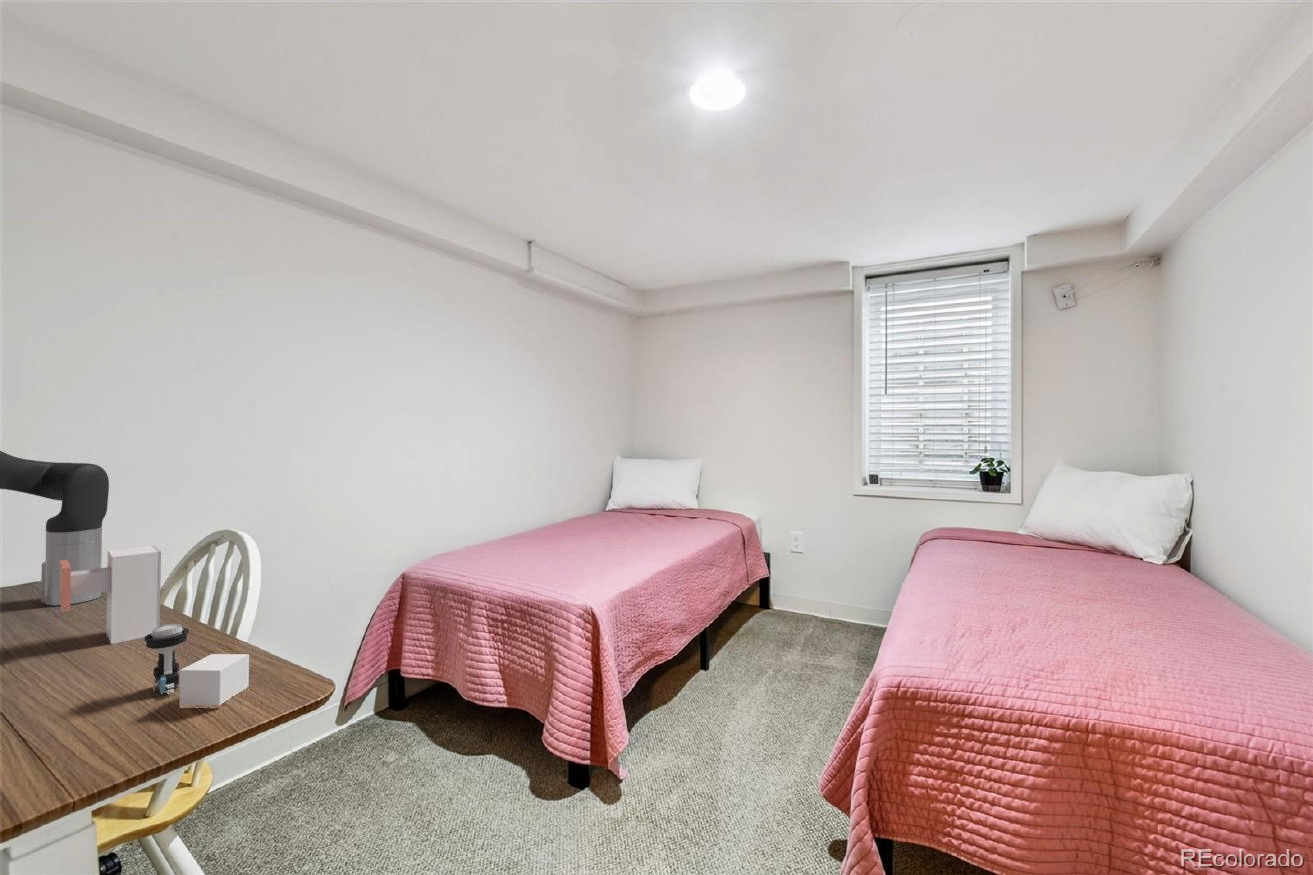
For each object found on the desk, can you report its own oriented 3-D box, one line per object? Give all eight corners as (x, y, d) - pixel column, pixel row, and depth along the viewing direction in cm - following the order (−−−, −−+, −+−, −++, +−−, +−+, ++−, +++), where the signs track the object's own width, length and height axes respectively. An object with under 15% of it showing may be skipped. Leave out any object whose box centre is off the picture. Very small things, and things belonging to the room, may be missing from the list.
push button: (192, 691, 86) (193, 629, 86) (147, 703, 82) (148, 638, 82) (184, 678, 91) (185, 619, 91) (141, 689, 87) (142, 627, 87)
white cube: (219, 710, 81) (220, 670, 81) (179, 709, 81) (179, 670, 81) (248, 690, 87) (249, 654, 87) (211, 690, 87) (211, 653, 87)
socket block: (110, 644, 104) (112, 557, 104) (106, 633, 109) (107, 550, 109) (159, 634, 110) (161, 551, 109) (153, 624, 115) (154, 545, 115)
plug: (62, 611, 99) (62, 568, 99) (59, 601, 105) (59, 560, 105) (119, 602, 105) (119, 561, 105) (113, 593, 110) (114, 554, 110)
